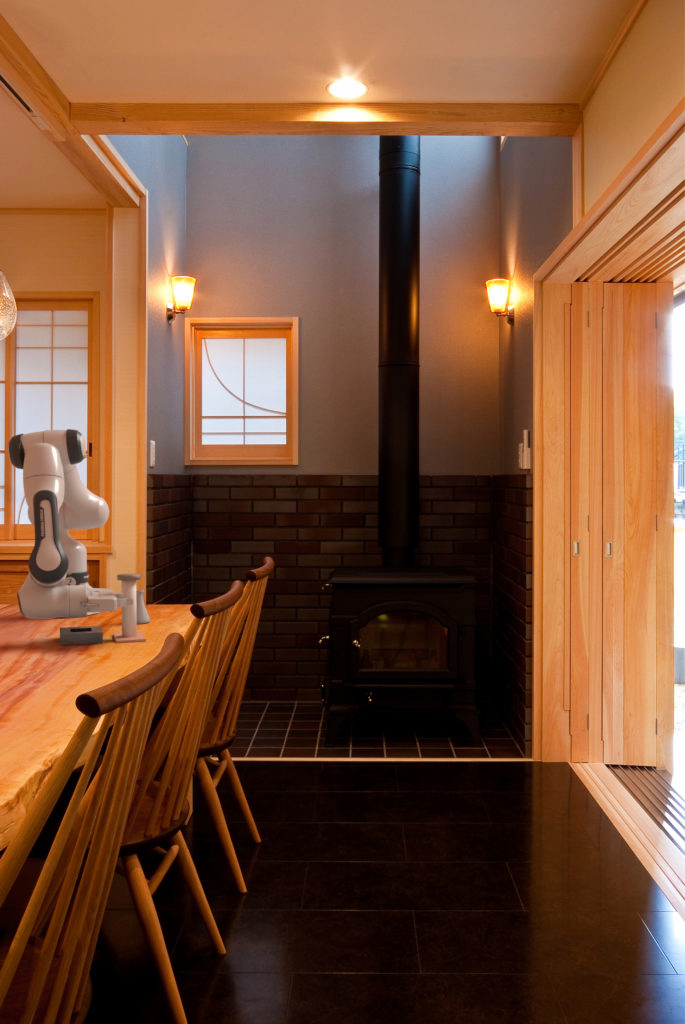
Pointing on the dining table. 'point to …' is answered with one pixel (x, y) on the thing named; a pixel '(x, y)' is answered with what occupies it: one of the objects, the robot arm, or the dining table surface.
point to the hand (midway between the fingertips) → (131, 599)
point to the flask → (141, 608)
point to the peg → (129, 610)
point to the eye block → (81, 635)
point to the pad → (129, 638)
